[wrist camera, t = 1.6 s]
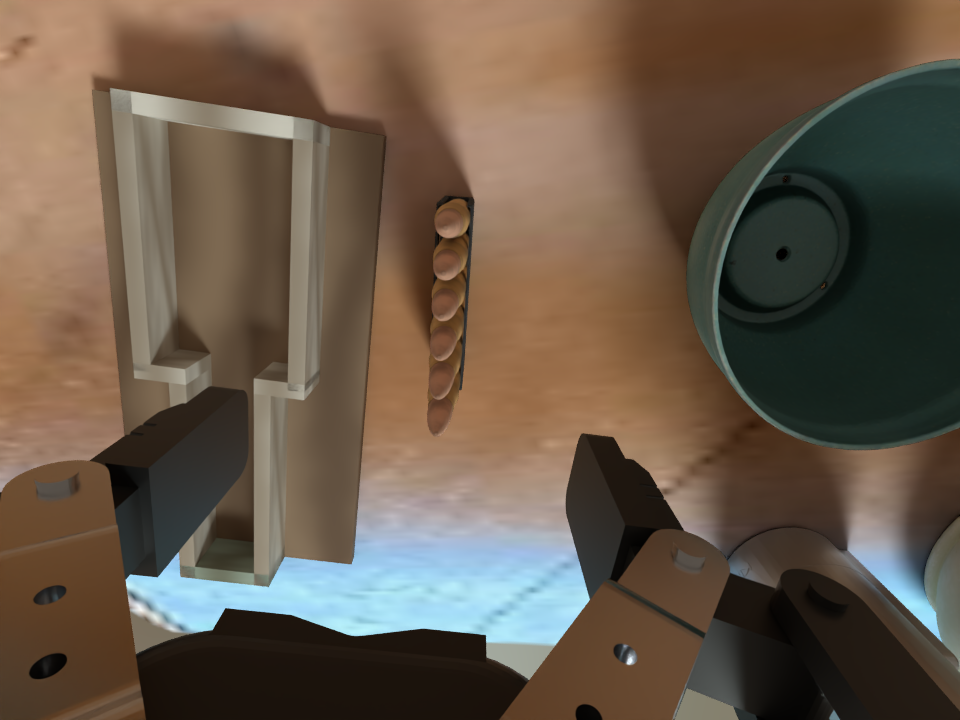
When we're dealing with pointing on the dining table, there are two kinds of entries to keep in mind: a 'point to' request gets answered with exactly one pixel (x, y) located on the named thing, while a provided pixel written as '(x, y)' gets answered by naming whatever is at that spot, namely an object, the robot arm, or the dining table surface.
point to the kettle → (946, 586)
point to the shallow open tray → (247, 307)
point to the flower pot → (842, 267)
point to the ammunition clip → (449, 308)
